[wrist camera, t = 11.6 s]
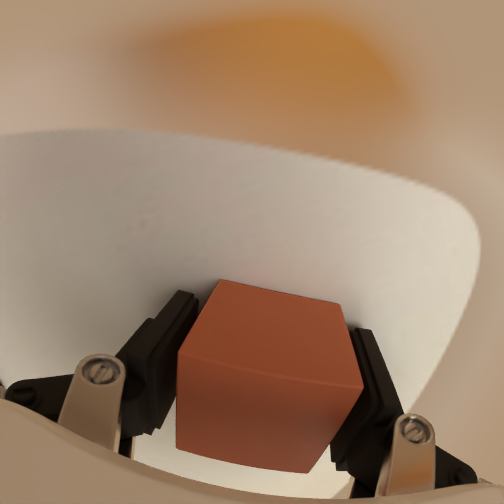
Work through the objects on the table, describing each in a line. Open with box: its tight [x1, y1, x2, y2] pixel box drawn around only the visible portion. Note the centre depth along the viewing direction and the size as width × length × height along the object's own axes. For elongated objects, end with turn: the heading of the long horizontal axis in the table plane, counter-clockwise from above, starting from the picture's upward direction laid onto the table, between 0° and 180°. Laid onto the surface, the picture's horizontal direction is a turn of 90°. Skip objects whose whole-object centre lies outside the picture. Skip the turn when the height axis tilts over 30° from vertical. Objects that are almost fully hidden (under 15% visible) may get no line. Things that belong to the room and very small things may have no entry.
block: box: [176, 280, 364, 473], centre depth 8 cm, size 4×4×4 cm
